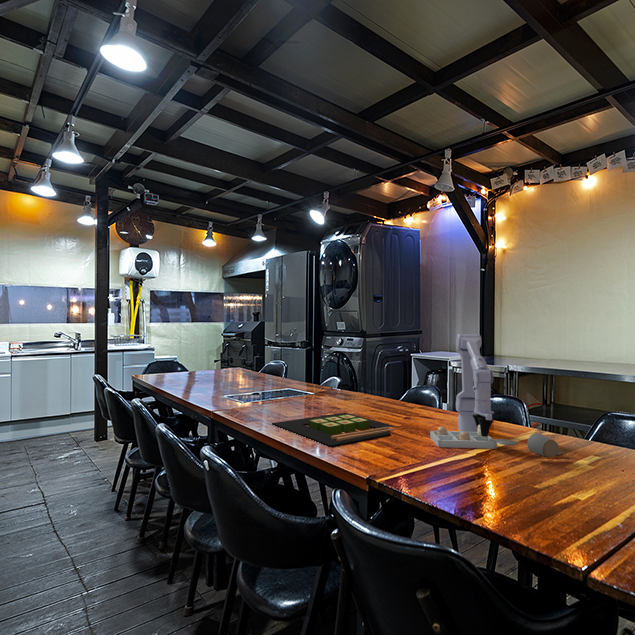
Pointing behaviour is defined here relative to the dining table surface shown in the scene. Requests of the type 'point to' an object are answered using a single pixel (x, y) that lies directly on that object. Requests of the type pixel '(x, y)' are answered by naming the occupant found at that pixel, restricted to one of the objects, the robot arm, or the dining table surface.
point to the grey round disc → (506, 442)
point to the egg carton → (454, 441)
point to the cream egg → (479, 432)
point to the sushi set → (336, 428)
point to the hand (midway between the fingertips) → (482, 434)
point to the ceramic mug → (543, 445)
